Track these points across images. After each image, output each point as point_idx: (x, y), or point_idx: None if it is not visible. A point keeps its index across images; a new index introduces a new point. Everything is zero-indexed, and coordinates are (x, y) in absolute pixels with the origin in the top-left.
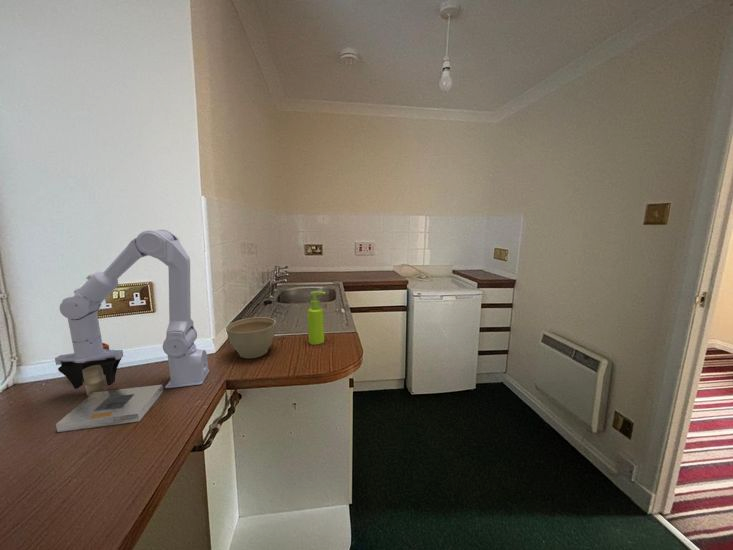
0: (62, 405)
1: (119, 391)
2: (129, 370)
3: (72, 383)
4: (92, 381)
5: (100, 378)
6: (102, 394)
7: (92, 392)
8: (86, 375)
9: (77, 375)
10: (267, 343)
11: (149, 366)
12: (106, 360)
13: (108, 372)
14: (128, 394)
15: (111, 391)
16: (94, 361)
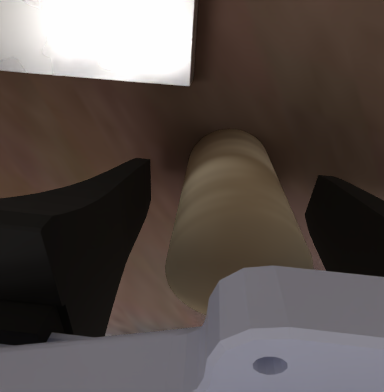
0: (361, 56)
1: (8, 34)
2: (174, 311)
3: (358, 190)
4: (218, 165)
5: (181, 194)
6: (106, 19)
7: (227, 135)
8: (258, 197)
9: (347, 250)
10: None
11: (110, 317)
12: (41, 312)
13: (75, 187)
14: None
15: (69, 54)
16: None
